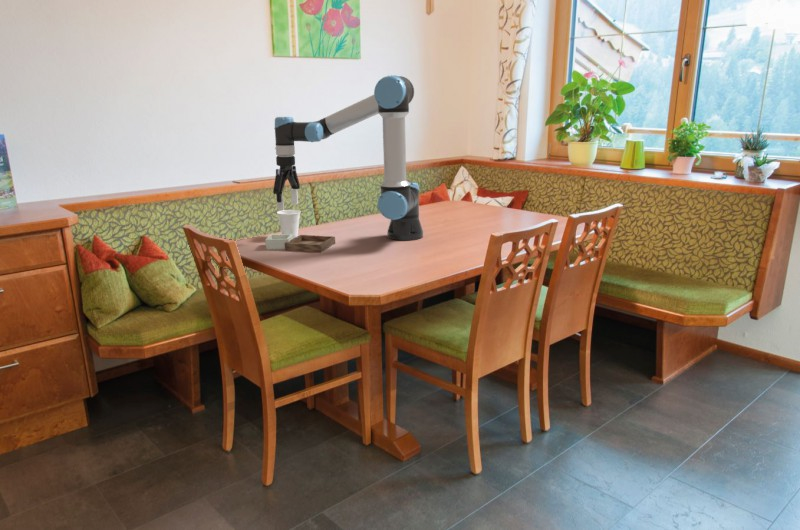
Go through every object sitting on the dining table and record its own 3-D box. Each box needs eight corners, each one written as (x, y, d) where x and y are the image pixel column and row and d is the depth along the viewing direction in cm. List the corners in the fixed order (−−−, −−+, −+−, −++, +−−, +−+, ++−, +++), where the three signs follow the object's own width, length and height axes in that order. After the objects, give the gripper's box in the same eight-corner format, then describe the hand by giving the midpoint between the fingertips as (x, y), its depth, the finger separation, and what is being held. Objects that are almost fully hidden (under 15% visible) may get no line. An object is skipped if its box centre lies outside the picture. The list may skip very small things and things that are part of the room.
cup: (297, 240, 251) (295, 214, 248) (274, 239, 253) (272, 213, 250) (305, 235, 260) (304, 210, 257) (283, 234, 262) (282, 209, 259)
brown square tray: (335, 243, 245) (334, 236, 245) (321, 252, 232) (320, 245, 231) (301, 241, 249) (300, 234, 249) (285, 250, 235) (284, 243, 235)
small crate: (293, 243, 245) (292, 234, 244) (289, 249, 236) (288, 239, 235) (270, 244, 245) (270, 234, 244) (266, 249, 236) (265, 239, 235)
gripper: (290, 152, 260) (292, 201, 265) (262, 158, 236) (265, 211, 242) (306, 153, 258) (308, 202, 264) (280, 159, 235) (282, 212, 240)
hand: (287, 207), depth 253 cm, fingers open, 13 cm apart
